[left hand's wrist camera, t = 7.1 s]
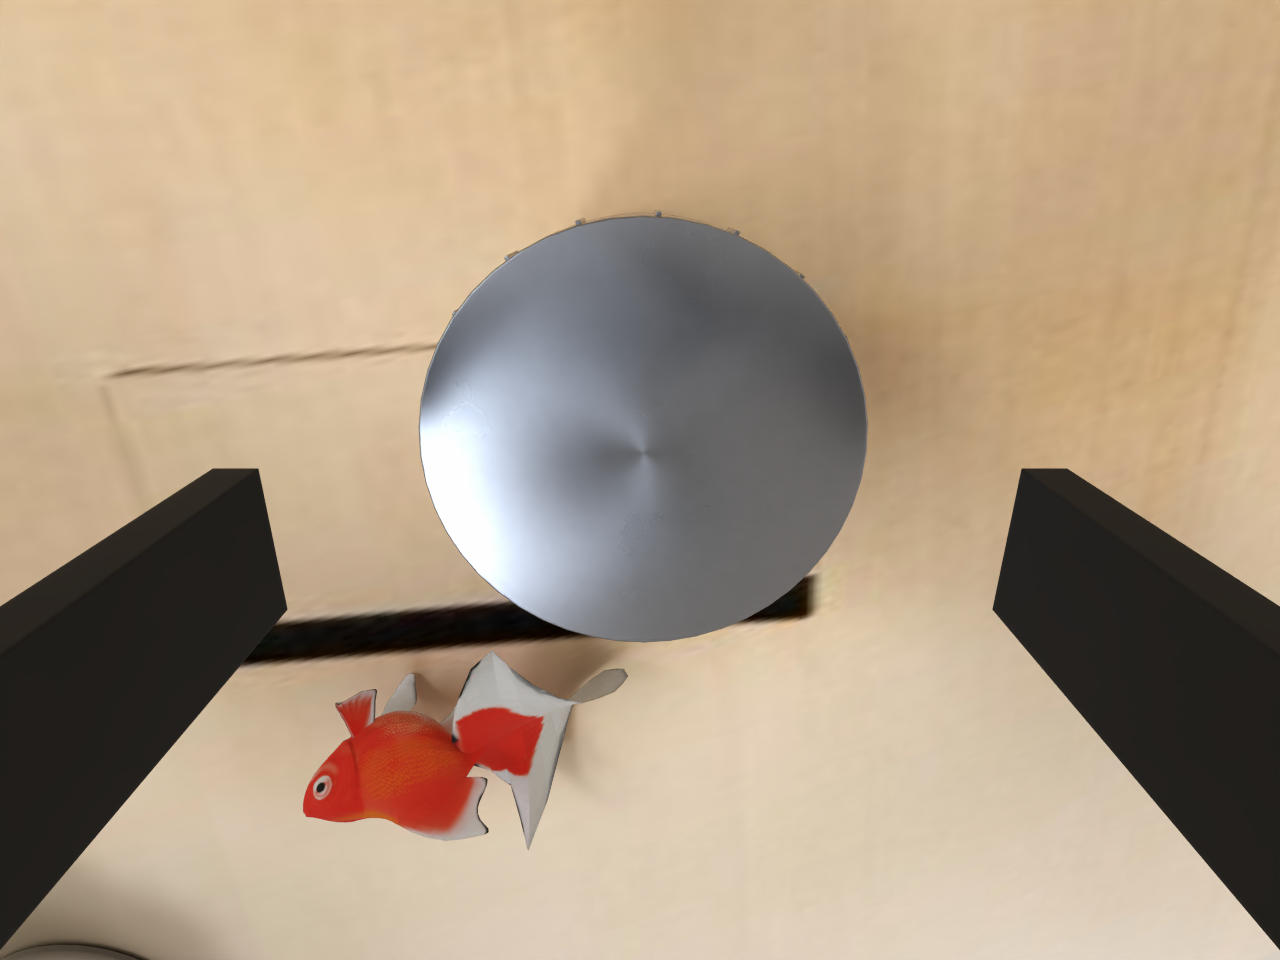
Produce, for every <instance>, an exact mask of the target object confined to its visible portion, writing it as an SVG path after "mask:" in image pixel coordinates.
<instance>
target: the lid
mask: <svg viewBox="0 0 1280 960" xmlns="http://www.w3.org/2000/svg"><path fill="white" fill-rule="evenodd" d="M575 222H576V225H574V226H571V227H568V228H566V229H563V230H560V231H558V232H555V233H553V234H551V235H549V236H547V237H545V238H543V239H541V240H539V241H538V242H536V243H534V244H532V245H530V246H528V247H527V248H525V249H523V250H521V251H519V252H518V251H515V252H513V253H511V254H509V255H507V256H506V257H504V259H505V260H506V261H505V262H504V263H503V264H501V265H500V266H499V267H497V268H496V269H495V270H493V271H492V272H491V273H490V274H489V275H488V276H487V277H486V278H485V279H484V280H483V281H482V282H481V283H480V284H479V285H478V286H477V287H476V288H475V289H474V290H473V291H472V292H471V293H470V294H469V296H468V297H467V298H466V300H465V301H464V302H463V304H462V305H461V306H460V308H458V309H457V310H455V311H454V312H453V314H452V315H453V317H452V319H451V320H450V322H449V324H448V326H447V328H446V329H445V331H444V333H443V335H442V337H441V338H440V340H439V342H438V344H437V347H436V349H435V352H434V355H433V357H432V360H431V362H430V365H429V368H428V370H427V375H426V379H425V384H424V388H423V392H422V397H421V406H420V418H419V440H420V455H421V460H422V466H423V471H424V476H425V481H426V484H427V487H428V490H429V493H430V496H431V499H432V502H433V505H434V508H435V510H436V512H437V514H438V516H439V518H440V520H441V522H442V524H443V526H444V528H445V530H446V532H447V533H448V535H449V536H450V538H451V539H452V541H453V542H454V544H455V545H456V547H457V548H458V550H459V552H460V553H461V554H462V556H463V557H464V558H465V559H466V560H467V561H468V563H469V564H470V565H471V566H472V567H473V568H474V569H475V571H476V572H477V573H478V574H479V575H480V576H481V577H482V578H483V579H484V580H485V581H487V582H488V583H489V584H490V585H491V586H492V587H493V588H494V589H495V590H497V591H498V592H499V593H500V594H502V595H503V596H505V597H506V598H507V599H509V600H510V601H512V602H513V603H514V604H516V605H517V606H519V607H520V608H522V609H524V610H526V611H527V612H529V613H531V614H533V615H535V616H537V617H538V618H540V619H542V620H544V621H547V622H549V623H552V624H554V625H557V626H559V627H562V628H564V629H566V630H570V631H573V632H577V633H580V634H584V635H588V636H591V637H597V638H603V639H609V640H615V641H629V642H657V641H671V640H677V639H683V638H688V637H694V636H698V635H702V634H705V633H709V632H712V631H716V630H719V629H722V628H724V627H727V626H729V625H732V624H734V623H736V622H739V621H741V620H743V619H746V618H748V617H749V616H751V615H753V614H755V613H756V612H758V611H760V610H762V609H764V608H765V607H767V606H769V605H770V604H772V603H773V602H774V601H776V600H777V599H778V598H780V597H781V596H783V595H784V594H785V593H787V592H788V591H789V590H791V589H792V588H793V587H794V586H795V585H796V584H797V583H798V582H799V581H800V580H801V579H802V578H804V577H805V576H806V575H807V574H808V573H809V572H810V571H811V570H812V568H813V567H814V566H815V565H816V564H817V562H818V561H819V560H820V559H821V558H822V557H823V555H824V554H825V553H826V552H827V550H828V549H829V547H830V546H831V544H832V543H833V541H834V539H835V538H836V536H837V535H838V533H839V532H840V530H841V528H842V526H843V524H844V522H845V520H846V518H847V516H848V514H849V512H850V510H851V508H852V505H853V503H854V500H855V497H856V494H857V491H858V488H859V484H860V481H861V478H862V473H863V467H864V462H865V456H866V450H867V427H868V422H867V411H866V401H865V393H864V389H863V385H862V381H861V377H860V372H859V368H858V365H857V363H856V360H855V358H854V355H853V353H852V350H851V348H850V345H849V343H848V340H847V337H846V335H845V334H844V333H843V331H842V330H841V328H840V326H839V324H838V323H837V321H836V319H835V317H834V316H833V314H832V313H831V311H830V310H829V309H828V307H827V306H826V305H825V304H824V302H823V301H822V300H821V299H820V297H819V296H818V295H817V293H816V292H815V291H814V290H813V289H812V288H811V287H810V286H809V285H808V284H807V283H806V282H805V281H804V280H803V279H804V278H805V277H804V276H803V275H802V274H801V273H799V272H797V271H795V270H793V269H791V268H790V267H789V266H787V265H786V264H785V263H783V262H782V261H780V260H779V259H778V258H776V257H775V256H773V255H772V254H771V253H769V252H768V251H766V250H765V249H763V248H761V247H759V246H757V245H755V244H753V243H751V242H750V241H748V240H746V239H744V238H742V237H740V236H739V233H740V232H739V231H737V230H734V229H732V228H729V227H728V229H727V230H724V229H721V228H718V227H715V226H713V225H710V224H707V223H704V222H701V221H697V220H693V219H688V218H683V217H678V216H673V215H661V211H660V210H655V214H645V213H639V214H626V215H613V216H608V217H603V218H599V219H594V220H590V221H585V218H582V219H579V220H577V221H575Z"/></svg>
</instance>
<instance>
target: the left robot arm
mask: <svg viewBox="0 0 1280 960" xmlns="http://www.w3.org/2000/svg"><path fill="white" fill-rule="evenodd" d="M286 611H287V605H286V600H285V595H284V590H283V586H282V581H281V576H280V571H279V566H278V561H277V557H276V552H275V547H274V542H273V537H272V532H271V528H270V523H269V518H268V513H267V508H266V503H265V499H264V494H263V489H262V484H261V479H260V474H259V470H258V469H212V470H210V471H209V472H207V473H205V474H204V475H202V476H201V477H199V478H198V479H196V480H195V481H193V482H192V483H190V484H188V485H187V486H185V487H184V488H182V489H181V490H179V491H178V492H176V493H175V494H173V495H171V496H170V497H168V498H167V499H165V500H164V501H162V502H161V503H159V504H158V505H156V506H155V507H153V508H151V509H150V510H148V511H147V512H145V513H144V514H142V515H141V516H139V517H138V518H136V519H134V520H133V521H131V522H130V523H128V524H127V525H125V526H124V527H122V528H121V529H119V530H118V531H116V532H114V533H113V534H111V535H110V536H108V537H107V538H105V539H104V540H102V541H101V542H99V543H97V544H96V545H94V546H93V547H91V548H90V549H88V550H87V551H85V552H84V553H82V554H80V555H79V556H77V557H76V558H74V559H73V560H71V561H70V562H68V563H67V564H65V565H64V566H62V567H60V568H59V569H57V570H56V571H54V572H53V573H51V574H50V575H48V576H47V577H45V578H43V579H42V580H40V581H39V582H37V583H36V584H34V585H33V586H31V587H30V588H28V589H27V590H25V591H23V592H22V593H20V594H19V595H17V596H16V597H14V598H13V599H11V600H10V601H8V602H6V603H5V604H3V605H2V606H0V950H1V948H2V947H3V946H4V945H5V944H6V942H7V941H8V940H9V939H10V938H11V937H12V935H13V934H14V933H15V932H16V931H17V929H18V928H19V927H20V926H21V925H22V924H23V922H24V921H25V920H26V919H27V918H28V916H29V915H30V914H31V913H32V912H33V910H34V909H35V908H36V907H37V906H38V905H39V903H40V902H41V901H42V900H43V899H44V897H45V896H46V895H47V894H48V893H49V892H50V890H51V889H52V888H53V887H54V886H55V884H56V883H57V882H58V881H59V880H60V878H61V877H62V876H63V875H64V874H65V873H66V871H67V870H68V869H69V868H70V867H71V865H72V864H73V863H74V862H75V861H76V860H77V858H78V857H79V856H80V855H81V854H82V852H83V851H84V850H85V849H86V848H87V846H88V845H89V844H90V843H91V842H92V841H93V839H94V838H95V837H96V836H97V835H98V833H99V832H100V831H101V830H102V829H103V828H104V826H105V825H106V824H107V823H108V822H109V820H110V819H111V818H112V817H113V816H114V814H115V813H116V812H117V811H118V810H119V809H120V807H121V806H122V805H123V804H124V803H125V801H126V800H127V799H128V798H129V797H130V796H131V794H132V793H133V792H134V791H135V790H136V788H137V787H138V786H139V785H140V784H141V782H142V781H143V780H144V779H145V778H146V777H147V775H148V774H149V773H150V772H151V771H152V769H153V768H154V767H155V766H156V765H157V764H158V762H159V761H160V760H161V759H162V758H163V756H164V755H165V754H166V753H167V752H168V750H169V749H170V748H171V747H172V746H173V745H174V743H175V742H176V741H177V740H178V739H179V737H180V736H181V735H182V734H183V733H184V732H185V730H186V729H187V728H188V727H189V726H190V724H191V723H192V722H193V721H194V720H195V718H196V717H197V716H198V715H199V714H200V713H201V711H202V710H203V709H204V708H205V707H206V705H207V704H208V703H209V702H210V701H211V700H212V698H213V697H214V696H215V695H216V694H217V692H218V691H219V690H220V689H221V688H222V686H223V685H224V684H225V683H226V682H227V681H228V679H229V678H230V677H231V676H232V675H233V673H234V672H235V671H236V670H237V669H238V668H239V666H240V665H241V664H242V663H243V662H244V660H245V659H246V658H247V657H248V656H249V654H250V653H251V652H252V651H253V650H254V649H255V647H256V646H257V645H258V644H259V643H260V641H261V640H262V639H263V638H264V637H265V636H266V634H267V633H268V632H269V631H270V630H271V628H272V627H273V626H274V625H275V624H276V623H277V621H278V620H279V619H280V618H281V617H282V615H283V614H284V613H285V612H286ZM993 611H994V612H995V613H996V614H997V615H998V617H999V618H1000V619H1001V620H1002V621H1003V623H1004V624H1005V625H1006V626H1007V627H1008V628H1009V630H1010V631H1011V632H1012V633H1013V634H1014V636H1015V637H1016V638H1017V639H1018V640H1019V641H1020V643H1021V644H1022V645H1023V646H1024V647H1025V649H1026V650H1027V651H1028V652H1029V653H1030V655H1031V656H1032V657H1033V658H1034V659H1035V660H1036V662H1037V663H1038V664H1039V665H1040V666H1041V668H1042V669H1043V670H1044V671H1045V672H1046V673H1047V675H1048V676H1049V677H1050V678H1051V679H1052V681H1053V682H1054V683H1055V684H1056V685H1057V686H1058V688H1059V689H1060V690H1061V691H1062V692H1063V694H1064V695H1065V696H1066V697H1067V698H1068V700H1069V701H1070V702H1071V703H1072V704H1073V705H1074V707H1075V708H1076V709H1077V710H1078V711H1079V713H1080V714H1081V715H1082V716H1083V717H1084V718H1085V720H1086V721H1087V722H1088V723H1089V724H1090V726H1091V727H1092V728H1093V729H1094V730H1095V732H1096V733H1097V734H1098V735H1099V736H1100V737H1101V739H1102V740H1103V741H1104V742H1105V743H1106V745H1107V746H1108V747H1109V748H1110V749H1111V750H1112V752H1113V753H1114V754H1115V755H1116V756H1117V758H1118V759H1119V760H1120V761H1121V762H1122V764H1123V765H1124V766H1125V767H1126V768H1127V769H1128V771H1129V772H1130V773H1131V774H1132V775H1133V777H1134V778H1135V779H1136V780H1137V781H1138V782H1139V784H1140V785H1141V786H1142V787H1143V788H1144V790H1145V791H1146V792H1147V793H1148V794H1149V796H1150V797H1151V798H1152V799H1153V800H1154V801H1155V803H1156V804H1157V805H1158V806H1159V807H1160V809H1161V810H1162V811H1163V812H1164V813H1165V814H1166V816H1167V817H1168V818H1169V819H1170V820H1171V822H1172V823H1173V824H1174V825H1175V826H1176V828H1177V829H1178V830H1179V831H1180V832H1181V833H1182V835H1183V836H1184V837H1185V838H1186V839H1187V841H1188V842H1189V843H1190V844H1191V845H1192V846H1193V848H1194V849H1195V850H1196V851H1197V852H1198V854H1199V855H1200V856H1201V857H1202V858H1203V860H1204V861H1205V862H1206V863H1207V864H1208V865H1209V867H1210V868H1211V869H1212V870H1213V871H1214V873H1215V874H1216V875H1217V876H1218V877H1219V878H1220V880H1221V881H1222V882H1223V883H1224V884H1225V886H1226V887H1227V888H1228V889H1229V890H1230V892H1231V893H1232V894H1233V895H1234V896H1235V897H1236V899H1237V900H1238V901H1239V902H1240V903H1241V905H1242V906H1243V907H1244V908H1245V909H1246V910H1247V912H1248V913H1249V914H1250V915H1251V916H1252V918H1253V919H1254V920H1255V921H1256V922H1257V924H1258V925H1259V926H1260V927H1261V928H1262V929H1263V931H1264V932H1265V933H1266V934H1267V935H1268V937H1269V938H1270V939H1271V940H1272V941H1273V942H1274V944H1275V945H1276V946H1277V947H1278V948H1279V950H1280V606H1278V605H1277V604H1275V603H1274V602H1272V601H1270V600H1269V599H1267V598H1266V597H1264V596H1263V595H1261V594H1260V593H1258V592H1257V591H1255V590H1253V589H1252V588H1250V587H1249V586H1247V585H1246V584H1244V583H1243V582H1241V581H1240V580H1238V579H1237V578H1235V577H1233V576H1232V575H1230V574H1229V573H1227V572H1226V571H1224V570H1223V569H1221V568H1220V567H1218V566H1216V565H1215V564H1213V563H1212V562H1210V561H1209V560H1207V559H1206V558H1204V557H1203V556H1201V555H1200V554H1198V553H1196V552H1195V551H1193V550H1192V549H1190V548H1189V547H1187V546H1186V545H1184V544H1183V543H1181V542H1179V541H1178V540H1176V539H1175V538H1173V537H1172V536H1170V535H1169V534H1167V533H1166V532H1164V531H1162V530H1161V529H1159V528H1158V527H1156V526H1155V525H1153V524H1152V523H1150V522H1149V521H1147V520H1146V519H1144V518H1142V517H1141V516H1139V515H1138V514H1136V513H1135V512H1133V511H1132V510H1130V509H1129V508H1127V507H1125V506H1124V505H1122V504H1121V503H1119V502H1118V501H1116V500H1115V499H1113V498H1112V497H1110V496H1109V495H1107V494H1105V493H1104V492H1102V491H1101V490H1099V489H1098V488H1096V487H1095V486H1093V485H1092V484H1090V483H1088V482H1087V481H1085V480H1084V479H1082V478H1081V477H1079V476H1078V475H1076V474H1075V473H1073V472H1071V471H1070V470H1068V469H1022V470H1021V474H1020V479H1019V484H1018V489H1017V494H1016V499H1015V503H1014V508H1013V513H1012V518H1011V523H1010V528H1009V532H1008V537H1007V542H1006V547H1005V552H1004V557H1003V561H1002V566H1001V571H1000V576H999V581H998V586H997V590H996V595H995V600H994V605H993ZM1 960H138V959H136V958H133V957H131V956H128V955H125V954H122V953H118V952H115V951H111V950H106V949H102V948H97V947H90V946H82V945H46V946H39V947H33V948H29V949H25V950H21V951H18V952H15V953H13V954H11V955H9V956H6V957H5V958H3V959H1Z"/></svg>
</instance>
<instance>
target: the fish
mask: <svg viewBox="0 0 1280 960" xmlns="http://www.w3.org/2000/svg"><path fill="white" fill-rule="evenodd" d="M627 677H628V675H627V673H626V672H625V670H624V669H610V670H604V671H603V672H601V673H600V674H598V675H597V676H595V677H594V678H592V679H591V680H590V681H588V682H587V683H586V684H584V685H583V686H582V687H580V688H579V689H578V690H577V692H576V693H575V694H574V695H573V696H572V697H570V698H569V699H568V700H567V699H563V698H559V697H556V696H554V695H552V694H550V693H548V692H546V691H544V690H542V689H541V688H539V687H537V686H535V685H533V684H531V683H530V682H529V681H527V680H526V679H525V678H523V677H522V676H520V675H519V674H518V673H516V672H515V671H514V670H512V669H511V668H510V667H509V666H508V665H507V664H506V663H505V662H504V661H502V660H501V659H500V658H499V657H498V656H497V655H496V654H495V653H494V652H493V651H491V652H490V653H489V654H487V655H486V656H485V657H484V658H483V659H482V660H481V661H479V662H478V663H477V664H476V665H475V666H474V667H472V668H471V670H470V672H469V675H468V677H467V679H466V682H465V684H464V687H463V689H462V691H461V694H460V696H459V699H458V702H457V705H456V706H455V708H454V709H453V711H452V712H451V713H450V714H449V716H448V717H447V718H446V719H445V720H443V721H442V722H441V723H438V722H436V721H435V720H433V719H432V718H430V717H428V716H426V715H423V714H420V713H417V712H411V711H410V710H411V709H412V708H413V707H414V705H415V704H416V701H417V694H416V687H415V676H414V674H408V675H407V676H406V677H405V678H404V679H403V681H402V682H401V683H400V685H399V686H398V688H397V689H396V691H395V692H394V694H393V695H392V696H391V698H390V699H389V701H388V702H387V704H386V706H385V709H384V711H383V713H382V715H381V716H380V717H378V718H375V700H376V694H377V690H376V689H372V690H367V691H362V692H359V693H358V694H356V695H354V696H352V697H351V698H349V699H347V700H346V701H343V702H339V703H335V704H336V708H337V710H338V711H339V713H340V715H341V717H342V719H343V720H344V721H345V723H346V726H347V728H348V730H349V732H350V734H351V737H350V738H349V739H347V740H345V741H343V742H342V743H341V744H340V745H339V747H338V748H337V749H336V750H335V751H334V752H333V753H332V754H331V755H330V756H329V757H328V759H327V760H326V761H325V762H324V763H323V764H322V766H321V767H320V768H319V769H318V770H317V772H316V773H315V774H314V776H313V777H312V779H311V781H310V783H309V785H308V787H307V790H306V793H305V797H304V802H303V812H304V813H305V815H306V817H314V818H319V819H323V820H328V821H334V822H353V821H357V820H361V819H365V818H383V819H387V820H390V821H392V822H394V823H395V824H398V825H400V826H401V827H403V828H405V829H407V830H409V831H411V832H413V833H416V834H418V835H421V836H424V837H427V838H432V839H438V840H444V841H449V840H458V839H466V838H470V837H475V836H480V835H484V834H486V833H488V828H487V827H486V826H485V825H484V823H483V822H482V821H481V820H480V818H479V815H478V805H479V802H480V800H481V797H482V795H483V793H484V791H485V788H486V785H487V779H486V778H483V777H466V776H467V775H468V773H469V772H470V770H471V769H472V767H473V766H477V767H481V768H485V769H488V770H491V771H492V772H493V773H495V774H496V775H497V776H498V777H499V778H501V779H502V780H504V781H505V782H507V783H508V784H510V785H511V787H512V791H513V794H514V798H515V801H516V805H517V809H518V812H519V816H520V819H521V823H522V828H523V832H524V836H525V840H526V844H527V848H528V850H529V847H530V845H531V842H532V839H533V837H534V834H535V832H536V829H537V826H538V824H539V821H540V818H541V816H542V813H543V811H544V808H545V805H546V803H547V800H548V796H549V792H550V788H551V785H552V781H553V777H554V773H555V769H556V765H557V761H558V757H559V753H560V749H561V745H562V742H563V738H564V734H565V730H566V726H567V722H568V718H569V715H570V712H571V710H572V707H573V704H578V703H584V702H587V701H591V700H594V699H597V698H600V697H603V696H605V695H608V694H610V693H612V692H615V691H616V690H617V689H618V688H619V687H620V686H621V685H622V684H623V682H624V681H625V680H626V678H627Z"/></svg>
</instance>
